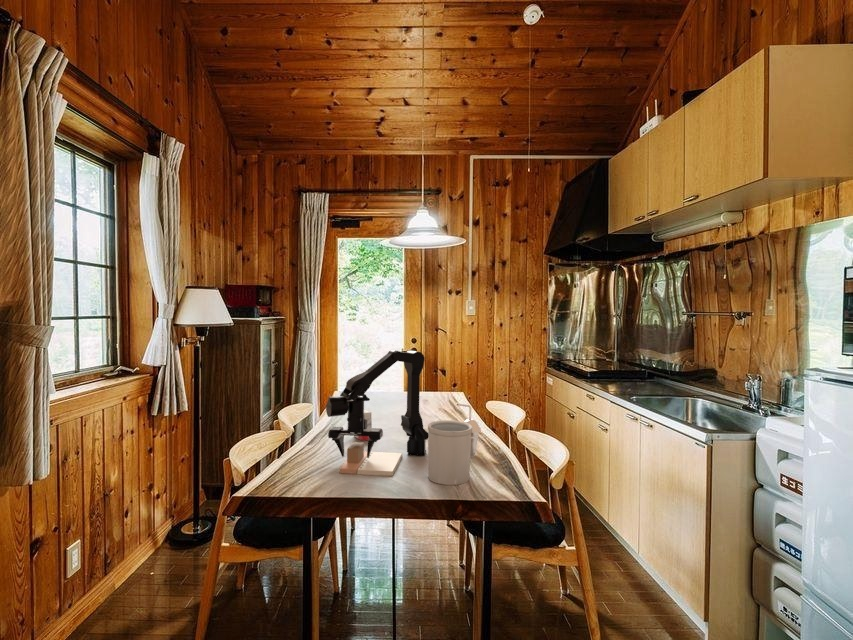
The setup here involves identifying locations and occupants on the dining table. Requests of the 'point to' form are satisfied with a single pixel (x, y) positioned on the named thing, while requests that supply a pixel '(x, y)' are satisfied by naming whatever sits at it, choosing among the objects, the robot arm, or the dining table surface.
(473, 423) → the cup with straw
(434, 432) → the utensil holder
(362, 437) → the ink box
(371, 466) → the board
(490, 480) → the dining table surface
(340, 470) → the stub
